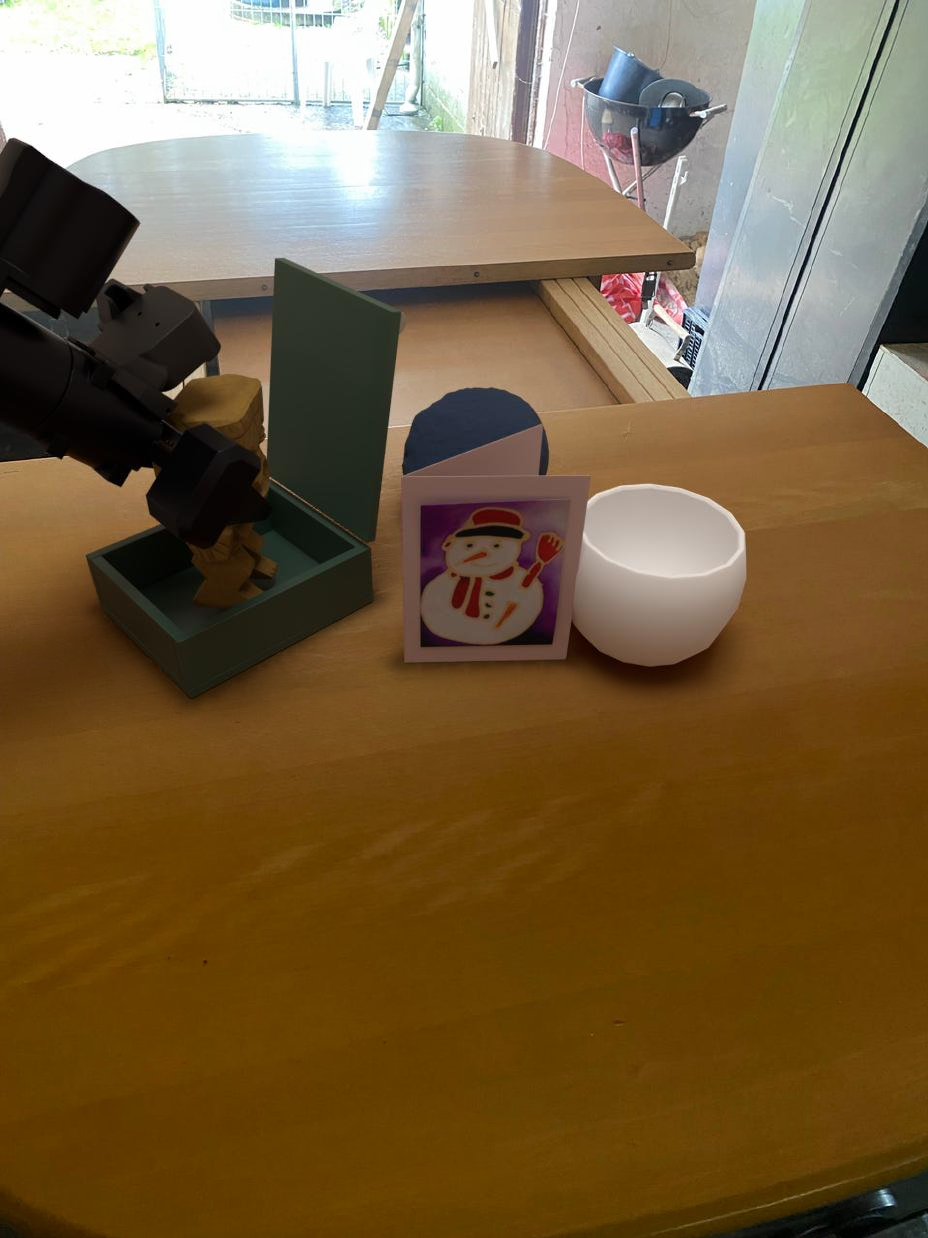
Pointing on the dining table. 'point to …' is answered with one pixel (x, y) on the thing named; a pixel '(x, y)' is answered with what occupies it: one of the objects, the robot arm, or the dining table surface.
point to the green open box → (251, 631)
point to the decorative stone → (468, 426)
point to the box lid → (330, 394)
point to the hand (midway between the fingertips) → (235, 489)
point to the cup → (657, 573)
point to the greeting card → (490, 555)
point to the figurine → (237, 551)
